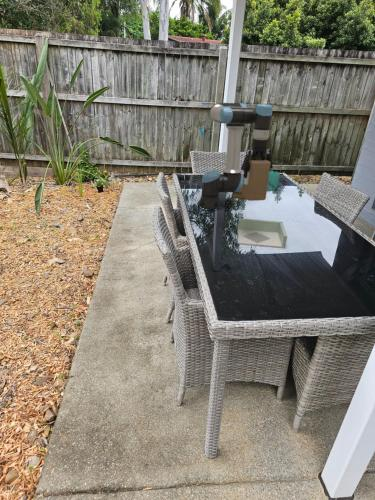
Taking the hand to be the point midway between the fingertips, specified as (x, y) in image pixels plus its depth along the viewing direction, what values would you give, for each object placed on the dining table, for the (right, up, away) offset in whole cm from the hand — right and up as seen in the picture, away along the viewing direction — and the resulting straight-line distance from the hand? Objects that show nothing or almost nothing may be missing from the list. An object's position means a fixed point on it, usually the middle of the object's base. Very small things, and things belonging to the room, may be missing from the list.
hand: (255, 183), depth 169 cm
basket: (+30, +16, +99) cm, 105 cm away
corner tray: (+4, -28, +8) cm, 30 cm away
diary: (+9, +7, +80) cm, 81 cm away
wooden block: (0, -7, +4) cm, 8 cm away
